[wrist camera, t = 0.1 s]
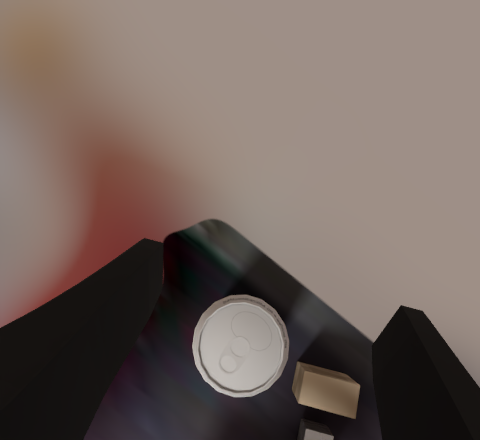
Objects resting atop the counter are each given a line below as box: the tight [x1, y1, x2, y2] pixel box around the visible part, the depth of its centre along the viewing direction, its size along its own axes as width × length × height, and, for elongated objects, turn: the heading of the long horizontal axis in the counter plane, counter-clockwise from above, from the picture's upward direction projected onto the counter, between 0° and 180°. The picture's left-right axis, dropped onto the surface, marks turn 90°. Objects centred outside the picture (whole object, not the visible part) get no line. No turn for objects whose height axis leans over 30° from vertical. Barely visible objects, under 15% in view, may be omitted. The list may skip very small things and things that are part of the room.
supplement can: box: [192, 295, 289, 397], centre depth 33 cm, size 8×8×15 cm
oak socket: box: [292, 361, 360, 419], centre depth 36 cm, size 3×6×5 cm, turn 76°
